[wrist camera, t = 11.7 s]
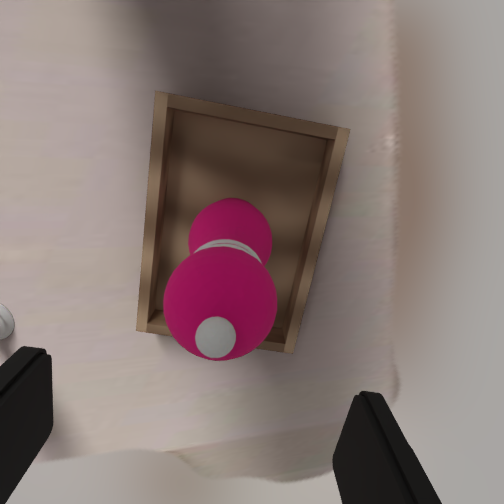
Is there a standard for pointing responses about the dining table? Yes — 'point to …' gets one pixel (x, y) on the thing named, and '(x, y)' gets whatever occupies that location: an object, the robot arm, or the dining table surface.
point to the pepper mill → (223, 283)
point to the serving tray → (238, 196)
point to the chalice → (5, 322)
